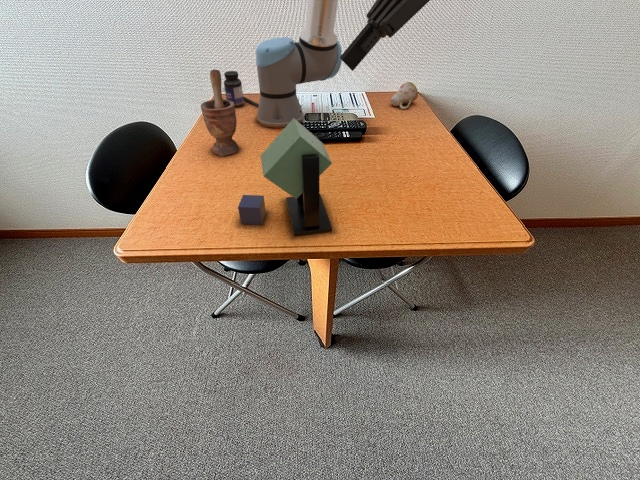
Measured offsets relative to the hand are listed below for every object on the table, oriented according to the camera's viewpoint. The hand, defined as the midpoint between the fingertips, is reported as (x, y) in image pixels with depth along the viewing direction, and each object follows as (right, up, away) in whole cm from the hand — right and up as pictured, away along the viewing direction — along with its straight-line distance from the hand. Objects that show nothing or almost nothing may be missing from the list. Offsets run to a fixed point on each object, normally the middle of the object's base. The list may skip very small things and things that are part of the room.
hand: (346, 64), depth 57 cm
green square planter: (-6, -11, +6) cm, 14 cm away
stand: (-7, -24, +17) cm, 31 cm away
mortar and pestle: (-32, -3, +42) cm, 53 cm away
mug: (+26, +20, +68) cm, 76 cm away
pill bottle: (-35, +20, +68) cm, 79 cm away
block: (-19, -25, +17) cm, 35 cm away
